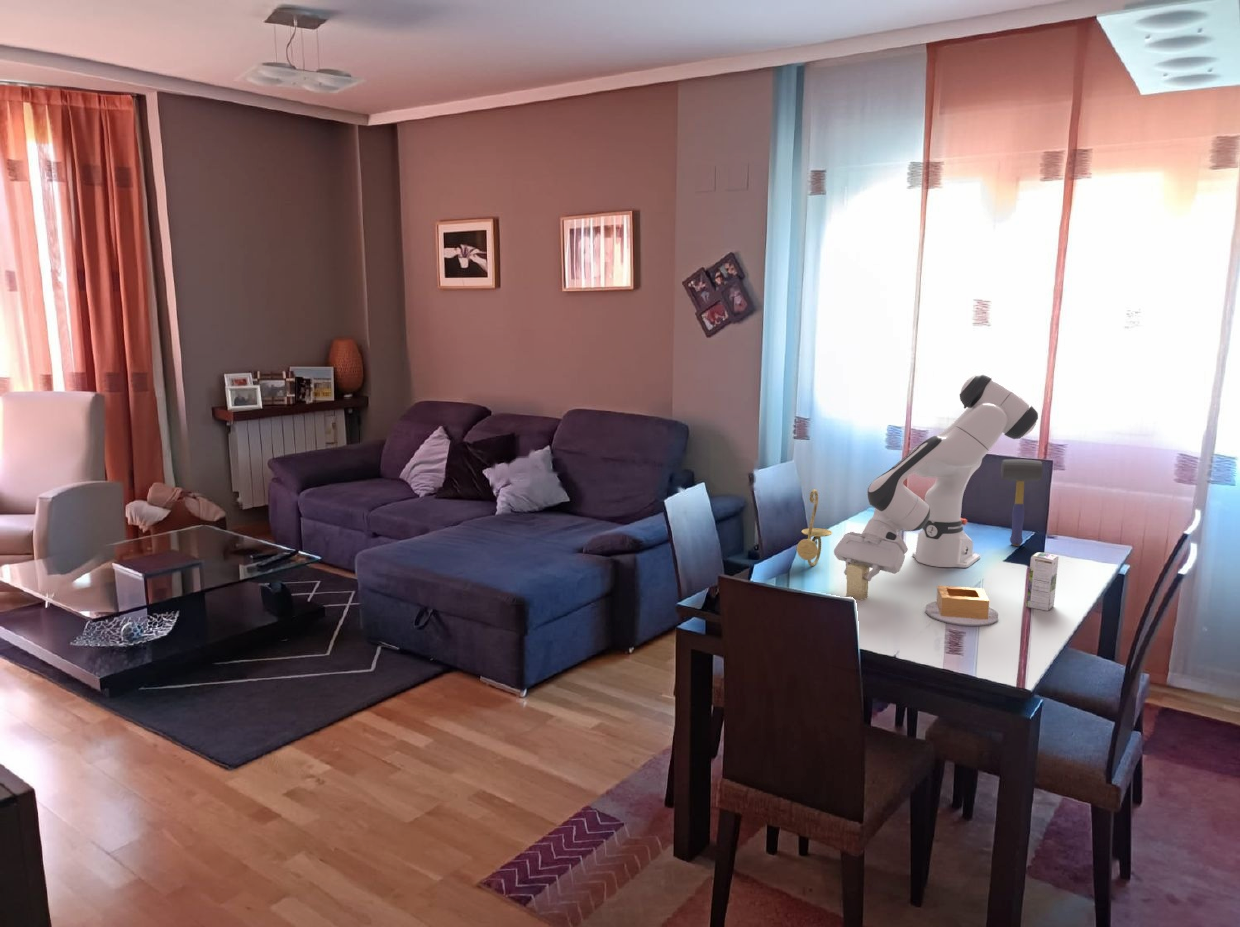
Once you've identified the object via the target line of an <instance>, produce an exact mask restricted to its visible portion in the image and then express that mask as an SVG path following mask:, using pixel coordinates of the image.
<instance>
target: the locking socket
mask: <svg viewBox="0 0 1240 927" xmlns="http://www.w3.org/2000/svg"><path fill="white" fill-rule="evenodd" d="M936 591H937V593H936V600H935V601H932V602H931V601H930V602H929V603H928V604H926V606H925V614H926V615H927V616H929V617H930V618H931V619H933V620H935V621H939V622H941V623H945V624H948V625H953V626H954V625H955V626H961V627H986V626H987V627H988V626H991V625H994V624H996V623H998V620H999V613H998V612H997V611H996V610H995V609H994V608H992V607H990V599H989V597H988V595H987V593H986V592H985V589H984V588H983V587H982V588H980V587H968V586H967V587H965V586H951V585H937V590H936Z"/></svg>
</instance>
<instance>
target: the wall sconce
mask: <svg viewBox="0 0 1240 927" xmlns="http://www.w3.org/2000/svg"><path fill="white" fill-rule="evenodd" d="M809 502H810V503H812V504H814V505H813V510H812V515H811V518H810V522H809V528H804V529H802V530H801V533H802V534H803V535H805V536H807V538H803V539H801V540H800V541H799V542H798V543H797V545H796V552H797V555H798V556H799V557H800V558H801V559H803V560H804V561H807V562H808V565H809V567H810V566H811V567H814V566H816V565H817V564H818V561H819V559H820V557H821V551H822V537H828V536H831V535H832V534H833V531H831V530H830V529H827V528H819V527H818V528H816V527H813V526H814V521H815V517H816V515H817V509H818V503H819V493H818V490H817V489H812V490H811V491H810V493H809ZM812 560H814V561H813V562H812Z"/></svg>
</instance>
